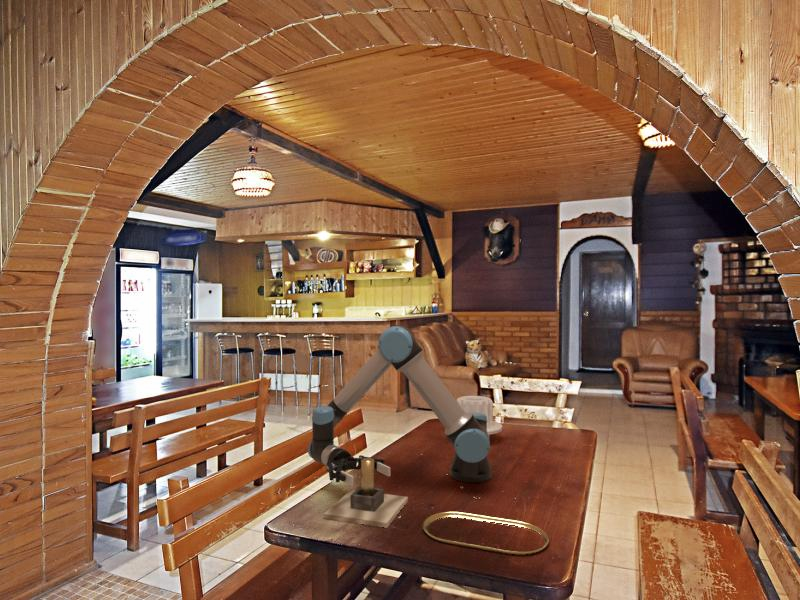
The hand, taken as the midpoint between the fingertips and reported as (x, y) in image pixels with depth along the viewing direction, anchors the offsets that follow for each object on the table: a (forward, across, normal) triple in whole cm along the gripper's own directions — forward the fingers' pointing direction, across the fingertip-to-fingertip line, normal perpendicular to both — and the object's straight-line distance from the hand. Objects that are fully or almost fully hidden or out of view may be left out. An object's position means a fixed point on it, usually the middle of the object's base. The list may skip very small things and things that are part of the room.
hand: (371, 476), depth 159 cm
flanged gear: (-37, -82, -11) cm, 91 cm away
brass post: (-2, 0, -10) cm, 10 cm away
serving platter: (+31, -17, -12) cm, 37 cm away
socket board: (-2, 0, -11) cm, 11 cm away
